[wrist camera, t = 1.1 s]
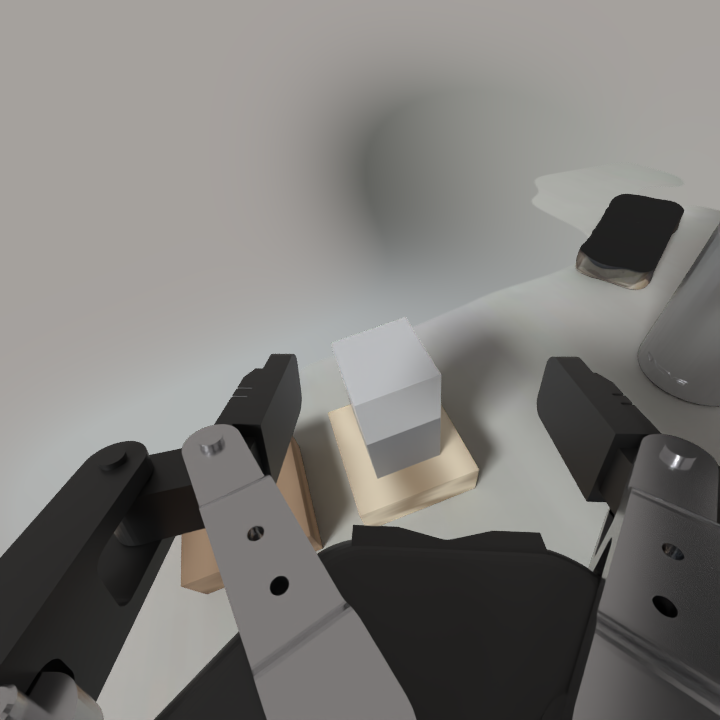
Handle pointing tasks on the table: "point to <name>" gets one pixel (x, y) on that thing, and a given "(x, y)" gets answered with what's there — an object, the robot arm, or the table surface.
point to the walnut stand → (196, 546)
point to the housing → (392, 394)
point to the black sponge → (629, 240)
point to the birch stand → (402, 473)
